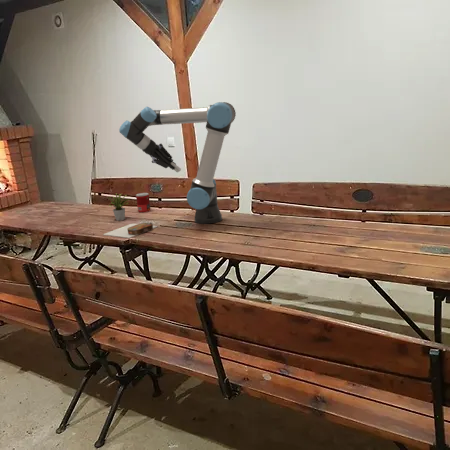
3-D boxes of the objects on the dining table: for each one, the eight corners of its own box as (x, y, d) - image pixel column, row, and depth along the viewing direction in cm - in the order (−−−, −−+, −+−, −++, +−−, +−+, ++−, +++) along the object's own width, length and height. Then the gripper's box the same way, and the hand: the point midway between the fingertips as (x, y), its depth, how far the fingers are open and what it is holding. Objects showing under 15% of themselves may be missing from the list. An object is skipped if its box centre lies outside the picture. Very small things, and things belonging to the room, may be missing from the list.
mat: (157, 226, 248) (157, 226, 248) (129, 238, 230) (128, 237, 230) (132, 224, 258) (132, 223, 258) (103, 235, 241) (102, 234, 241)
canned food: (150, 211, 285) (148, 194, 282) (137, 213, 284) (135, 195, 281) (151, 209, 292) (149, 192, 289) (138, 210, 292) (136, 193, 289)
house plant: (115, 224, 261) (111, 196, 257) (102, 221, 271) (98, 194, 266) (135, 218, 271) (132, 191, 267) (122, 215, 280) (118, 189, 276)
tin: (134, 231, 232) (123, 228, 237) (135, 236, 233) (124, 233, 238) (156, 223, 243) (145, 220, 248) (156, 229, 244) (145, 226, 249)
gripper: (145, 138, 243) (177, 164, 256) (138, 156, 236) (171, 181, 249) (154, 132, 238) (186, 159, 251) (146, 150, 231) (180, 177, 244)
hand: (179, 170), depth 250 cm, fingers closed
